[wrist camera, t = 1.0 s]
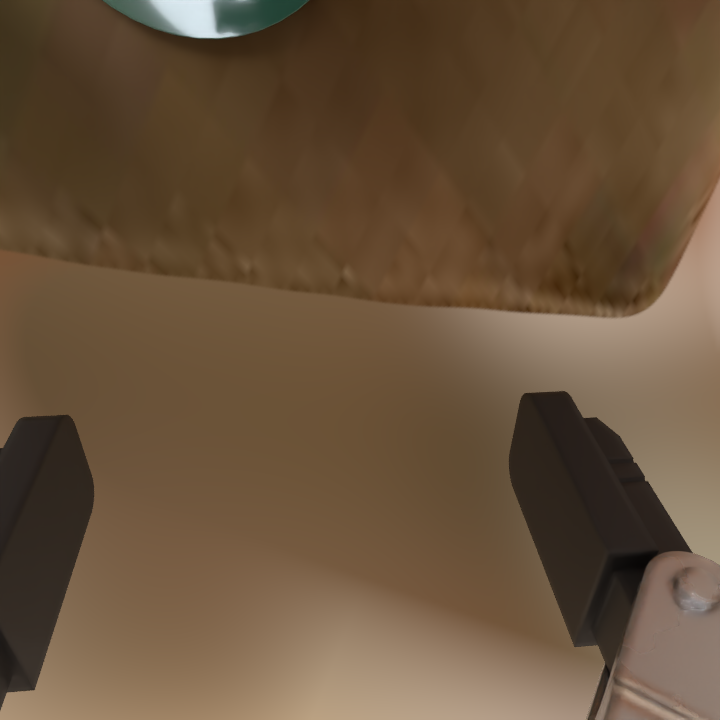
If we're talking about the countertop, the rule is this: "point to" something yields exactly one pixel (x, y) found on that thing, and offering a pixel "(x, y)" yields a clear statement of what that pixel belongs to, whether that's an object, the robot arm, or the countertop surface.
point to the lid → (207, 15)
